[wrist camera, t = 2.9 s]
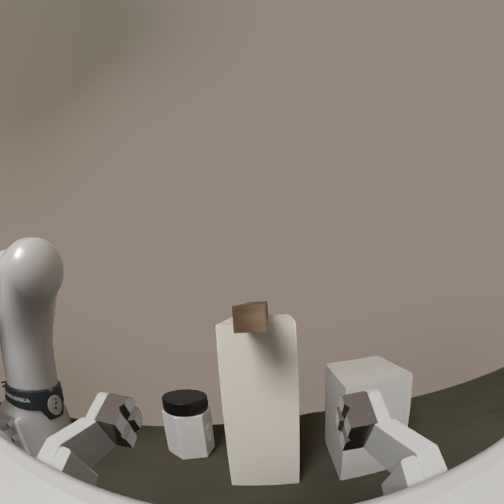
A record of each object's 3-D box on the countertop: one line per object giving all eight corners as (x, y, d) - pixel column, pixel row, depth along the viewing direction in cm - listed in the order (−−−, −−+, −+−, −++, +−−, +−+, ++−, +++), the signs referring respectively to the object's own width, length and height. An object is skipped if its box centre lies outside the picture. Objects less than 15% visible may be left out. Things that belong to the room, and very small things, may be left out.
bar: (233, 333, 24) (232, 306, 25) (250, 316, 46) (249, 302, 46) (266, 331, 24) (264, 304, 25) (267, 315, 46) (267, 301, 46)
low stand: (340, 480, 27) (345, 388, 30) (324, 440, 41) (325, 363, 44) (400, 464, 27) (412, 373, 29) (373, 431, 40) (377, 355, 43)
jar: (205, 463, 35) (196, 406, 37) (163, 456, 37) (152, 401, 39) (219, 441, 44) (213, 390, 46) (182, 437, 45) (174, 387, 47)
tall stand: (232, 485, 29) (215, 325, 33) (241, 444, 43) (230, 317, 47) (299, 482, 28) (295, 320, 33) (293, 442, 42) (288, 314, 47)
